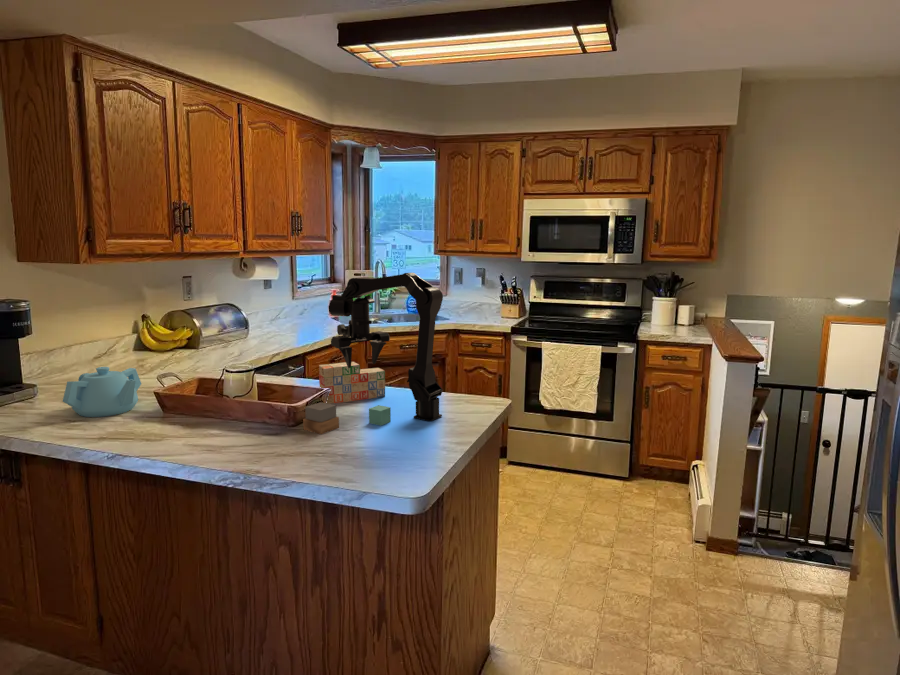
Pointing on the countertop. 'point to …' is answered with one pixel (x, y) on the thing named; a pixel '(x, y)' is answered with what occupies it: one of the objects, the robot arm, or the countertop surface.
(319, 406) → the charcoal block
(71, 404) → the teapot
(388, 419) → the teal block
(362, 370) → the stack of blocks
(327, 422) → the walnut base block
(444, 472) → the countertop surface
